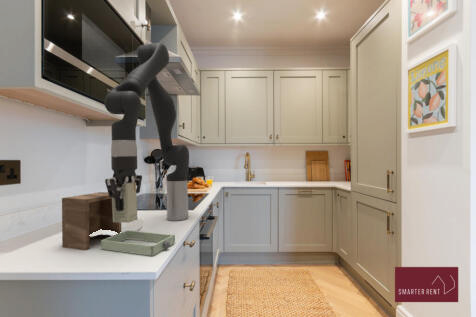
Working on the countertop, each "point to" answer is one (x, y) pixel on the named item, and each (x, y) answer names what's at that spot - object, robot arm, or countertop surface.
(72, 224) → the walnut shelf
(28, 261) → the countertop surface
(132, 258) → the countertop surface
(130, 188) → the skincare box
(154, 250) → the sliding drawer
